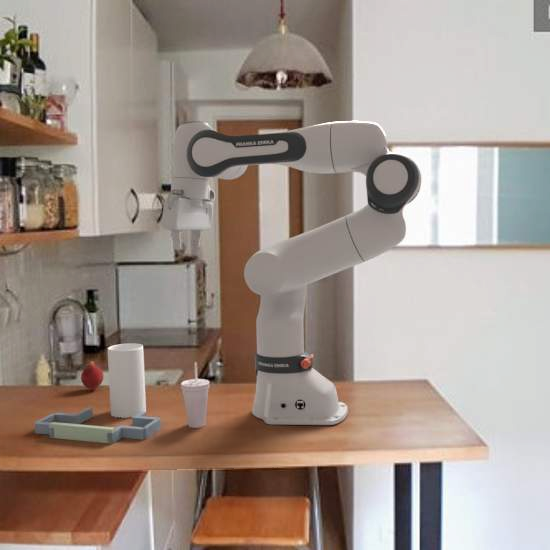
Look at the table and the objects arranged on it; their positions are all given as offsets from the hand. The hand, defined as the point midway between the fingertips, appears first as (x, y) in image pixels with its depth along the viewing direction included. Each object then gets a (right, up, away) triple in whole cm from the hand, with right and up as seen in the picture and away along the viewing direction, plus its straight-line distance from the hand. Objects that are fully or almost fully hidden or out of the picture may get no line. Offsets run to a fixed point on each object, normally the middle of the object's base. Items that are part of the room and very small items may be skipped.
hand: (186, 248), depth 137 cm
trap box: (-17, -40, -12) cm, 46 cm away
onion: (-29, -38, +19) cm, 51 cm away
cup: (-14, -40, -1) cm, 42 cm away
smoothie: (+4, -40, -11) cm, 42 cm away
